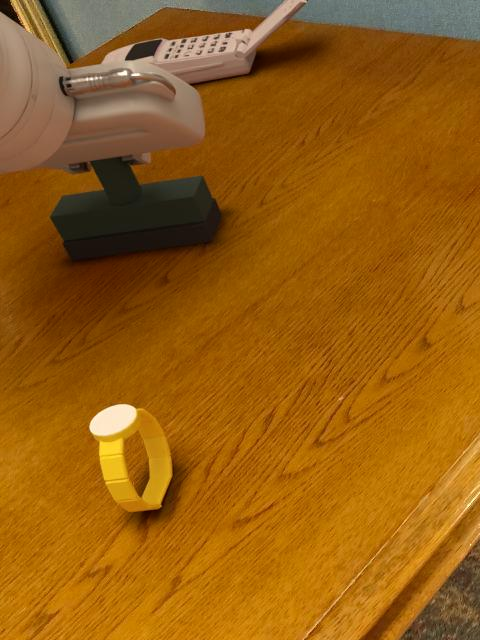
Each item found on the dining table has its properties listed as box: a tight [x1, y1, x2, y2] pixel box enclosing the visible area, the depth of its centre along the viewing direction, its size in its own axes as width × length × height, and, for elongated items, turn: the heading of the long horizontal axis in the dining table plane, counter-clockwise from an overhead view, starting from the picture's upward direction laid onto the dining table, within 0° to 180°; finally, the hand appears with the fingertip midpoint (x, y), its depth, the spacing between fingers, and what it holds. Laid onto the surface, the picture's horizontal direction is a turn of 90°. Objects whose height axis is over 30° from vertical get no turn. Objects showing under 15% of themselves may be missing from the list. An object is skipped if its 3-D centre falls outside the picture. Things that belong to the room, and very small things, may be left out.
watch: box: [89, 403, 173, 513], centre depth 59 cm, size 6×3×6 cm, turn 0°
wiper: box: [49, 156, 223, 262], centre depth 77 cm, size 12×4×12 cm, turn 89°
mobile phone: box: [100, 0, 309, 85], centre depth 100 cm, size 6×6×25 cm
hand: (111, 158), depth 77 cm, fingers open, 3 cm apart
